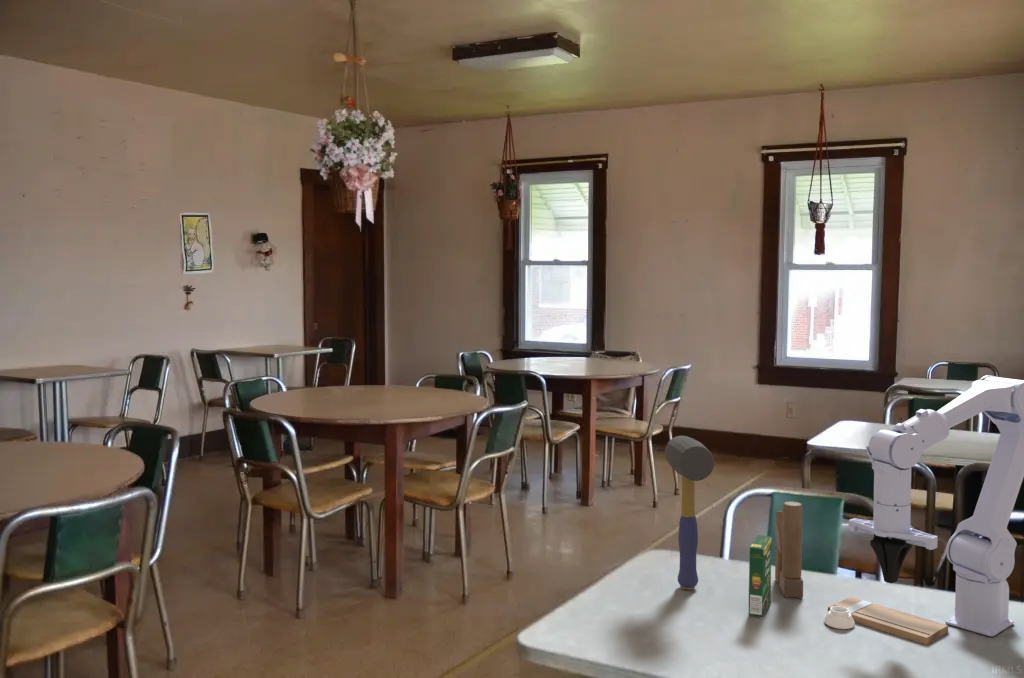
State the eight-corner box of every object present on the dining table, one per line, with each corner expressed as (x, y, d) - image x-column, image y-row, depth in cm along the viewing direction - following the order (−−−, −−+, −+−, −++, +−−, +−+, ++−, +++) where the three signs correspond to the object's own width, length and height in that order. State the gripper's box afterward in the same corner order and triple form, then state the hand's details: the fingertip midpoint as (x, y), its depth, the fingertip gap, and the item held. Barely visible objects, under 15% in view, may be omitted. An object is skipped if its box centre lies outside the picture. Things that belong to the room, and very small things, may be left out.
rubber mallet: (661, 578, 178) (662, 433, 176) (697, 577, 179) (698, 432, 177) (677, 600, 166) (678, 445, 164) (716, 598, 166) (717, 444, 164)
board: (850, 602, 164) (850, 596, 164) (948, 632, 150) (948, 624, 150) (827, 613, 159) (827, 606, 159) (926, 644, 145) (926, 637, 145)
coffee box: (763, 619, 156) (764, 547, 155) (747, 616, 157) (748, 545, 157) (771, 604, 163) (772, 535, 162) (756, 601, 165) (757, 533, 164)
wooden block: (793, 579, 177) (794, 492, 176) (803, 598, 166) (804, 506, 165) (774, 579, 177) (775, 492, 176) (783, 598, 167) (784, 505, 165)
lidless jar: (824, 618, 157) (824, 629, 152) (824, 602, 157) (825, 612, 152) (853, 621, 155) (855, 632, 150) (854, 605, 155) (855, 616, 150)
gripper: (839, 498, 149) (838, 575, 150) (923, 515, 138) (921, 598, 139) (861, 491, 153) (860, 566, 154) (944, 507, 142) (942, 588, 143)
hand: (890, 581), depth 147 cm, fingers closed
